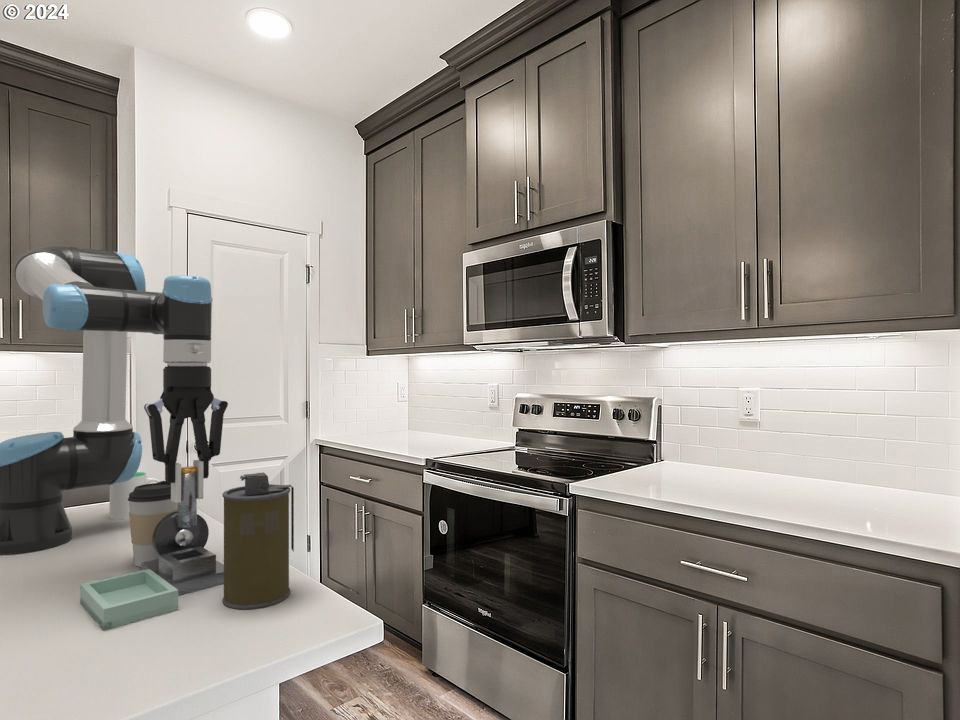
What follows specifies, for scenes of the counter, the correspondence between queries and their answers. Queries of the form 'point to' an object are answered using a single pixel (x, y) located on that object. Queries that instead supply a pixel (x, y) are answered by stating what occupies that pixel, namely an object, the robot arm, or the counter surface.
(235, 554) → the canister
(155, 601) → the tray
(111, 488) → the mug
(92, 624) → the counter surface
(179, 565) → the tensioner
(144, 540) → the coffee cup
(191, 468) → the lock pin
